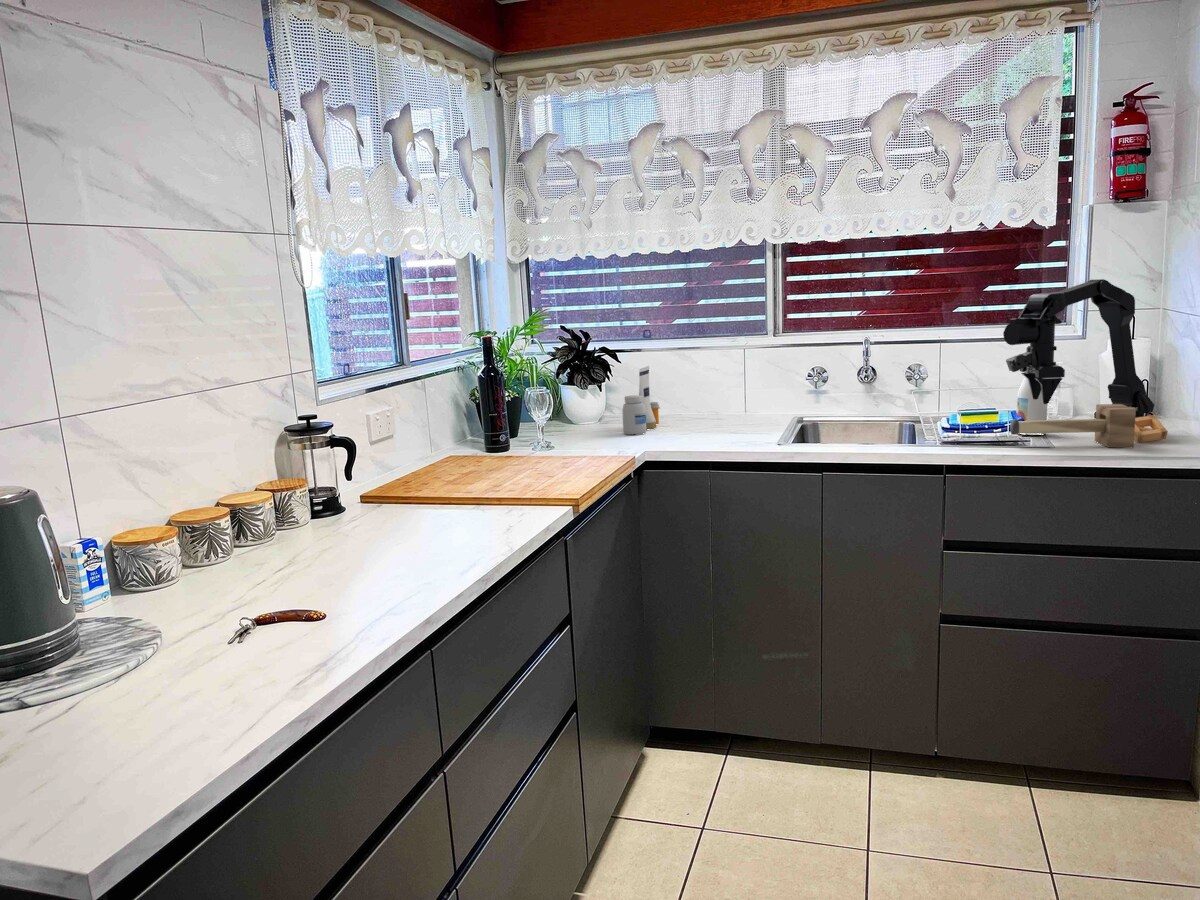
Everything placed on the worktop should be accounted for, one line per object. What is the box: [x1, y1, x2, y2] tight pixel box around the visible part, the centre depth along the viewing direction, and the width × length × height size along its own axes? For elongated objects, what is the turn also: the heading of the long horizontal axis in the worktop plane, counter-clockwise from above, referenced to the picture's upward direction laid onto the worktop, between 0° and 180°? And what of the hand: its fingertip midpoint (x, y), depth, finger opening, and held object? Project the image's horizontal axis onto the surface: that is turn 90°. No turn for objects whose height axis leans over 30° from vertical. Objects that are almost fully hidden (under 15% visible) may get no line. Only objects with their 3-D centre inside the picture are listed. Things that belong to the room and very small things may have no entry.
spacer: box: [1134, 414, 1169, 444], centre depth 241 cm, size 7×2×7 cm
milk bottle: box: [1016, 376, 1048, 435], centre depth 257 cm, size 8×8×20 cm
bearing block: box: [1094, 403, 1136, 449], centre depth 238 cm, size 10×6×10 cm, turn 170°
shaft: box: [1009, 418, 1106, 436], centre depth 240 cm, size 4×23×4 cm, turn 80°
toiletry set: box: [622, 365, 661, 435], centre depth 299 cm, size 25×8×20 cm, turn 159°
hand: (1040, 401), depth 240 cm, fingers open, 9 cm apart
